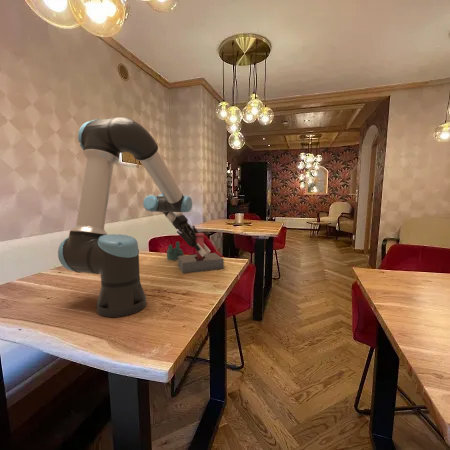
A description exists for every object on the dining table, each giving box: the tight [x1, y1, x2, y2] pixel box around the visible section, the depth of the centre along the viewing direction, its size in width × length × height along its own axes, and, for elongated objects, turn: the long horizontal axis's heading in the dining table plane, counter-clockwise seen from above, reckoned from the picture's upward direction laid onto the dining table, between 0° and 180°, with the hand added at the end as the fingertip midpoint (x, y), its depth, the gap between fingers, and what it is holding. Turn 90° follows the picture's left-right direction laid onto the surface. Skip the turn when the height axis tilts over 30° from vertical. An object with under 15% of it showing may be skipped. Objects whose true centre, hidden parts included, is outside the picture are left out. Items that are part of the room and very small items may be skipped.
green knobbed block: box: [166, 241, 184, 261], centre depth 146 cm, size 9×9×9 cm
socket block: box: [177, 252, 225, 274], centre depth 129 cm, size 20×14×5 cm
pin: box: [195, 232, 205, 259], centre depth 128 cm, size 4×4×15 cm
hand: (206, 253), depth 127 cm, fingers closed on pin, 3 cm apart
